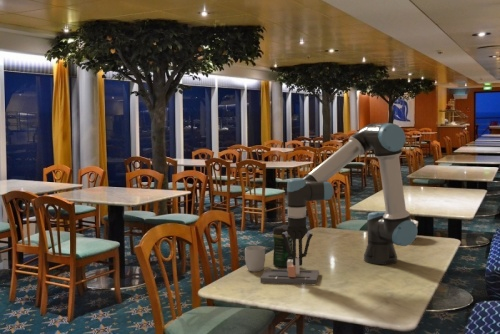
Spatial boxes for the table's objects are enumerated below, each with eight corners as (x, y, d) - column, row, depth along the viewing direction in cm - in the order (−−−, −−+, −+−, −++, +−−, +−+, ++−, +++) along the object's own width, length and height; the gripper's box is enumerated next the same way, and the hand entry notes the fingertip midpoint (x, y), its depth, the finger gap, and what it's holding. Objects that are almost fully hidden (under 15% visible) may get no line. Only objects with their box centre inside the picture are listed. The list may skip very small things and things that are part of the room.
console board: (318, 274, 237) (318, 269, 237) (316, 284, 223) (316, 279, 222) (266, 272, 242) (265, 267, 241) (260, 283, 227) (260, 277, 227)
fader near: (296, 274, 229) (296, 264, 229) (295, 277, 225) (295, 266, 225) (289, 274, 230) (289, 264, 230) (288, 277, 226) (288, 266, 226)
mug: (259, 273, 241) (259, 251, 240) (241, 271, 245) (241, 249, 244) (272, 266, 252) (271, 244, 251) (255, 264, 256) (254, 243, 255)
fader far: (295, 269, 237) (295, 259, 237) (294, 271, 234) (294, 261, 233) (288, 268, 238) (288, 259, 238) (287, 271, 234) (286, 261, 234)
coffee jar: (285, 269, 247) (285, 228, 245) (270, 266, 251) (269, 226, 250) (296, 263, 255) (295, 224, 253) (281, 261, 259) (280, 222, 258)
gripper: (313, 215, 227) (314, 271, 230) (282, 214, 230) (283, 270, 232) (312, 218, 220) (312, 276, 222) (279, 218, 222) (280, 275, 225)
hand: (297, 273), depth 227 cm, fingers closed
